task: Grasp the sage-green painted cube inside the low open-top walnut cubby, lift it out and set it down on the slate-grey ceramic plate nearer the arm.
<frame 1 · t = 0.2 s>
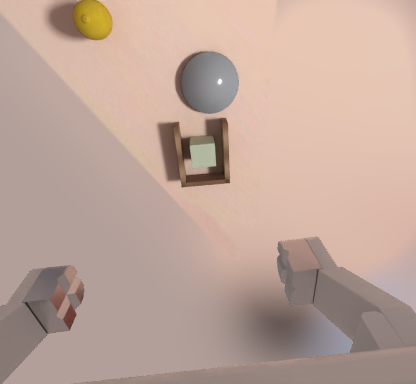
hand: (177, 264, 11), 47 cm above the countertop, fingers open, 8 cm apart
lemon: (101, 21, 46), on the countertop
cubby: (202, 147, 58), on the countertop
cube: (202, 147, 58), resting in cubby
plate: (209, 83, 51), on the countertop
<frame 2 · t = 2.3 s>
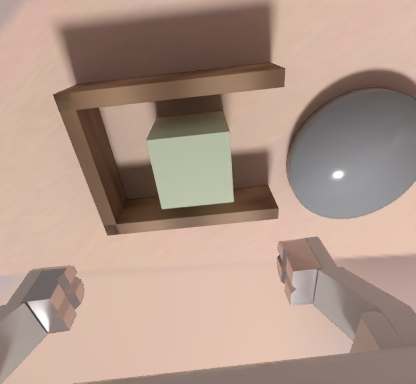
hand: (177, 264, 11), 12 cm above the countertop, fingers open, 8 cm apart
cubby: (194, 145, 21), on the countertop
cube: (194, 145, 21), resting in cubby
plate: (352, 157, 22), on the countertop
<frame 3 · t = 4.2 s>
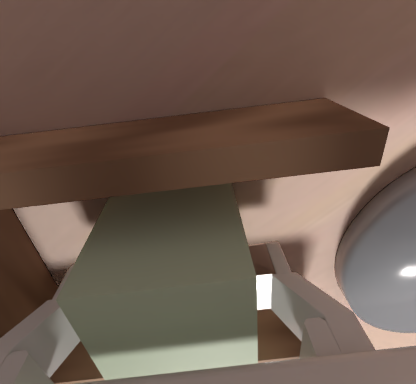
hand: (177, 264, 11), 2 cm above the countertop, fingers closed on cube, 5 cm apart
cubby: (179, 235, 12), on the countertop
cube: (179, 235, 12), resting in cubby, touching gripper
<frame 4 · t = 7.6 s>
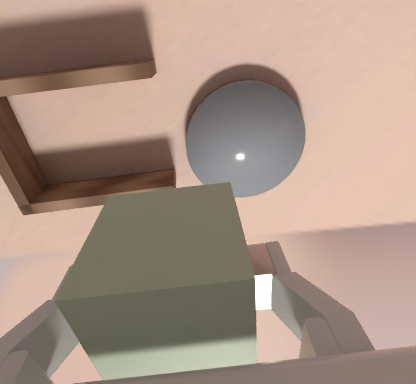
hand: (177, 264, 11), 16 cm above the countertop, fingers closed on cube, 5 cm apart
cubby: (100, 133, 24), on the countertop
cube: (179, 236, 12), point 14 cm above the countertop, touching gripper
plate: (243, 141, 25), on the countertop
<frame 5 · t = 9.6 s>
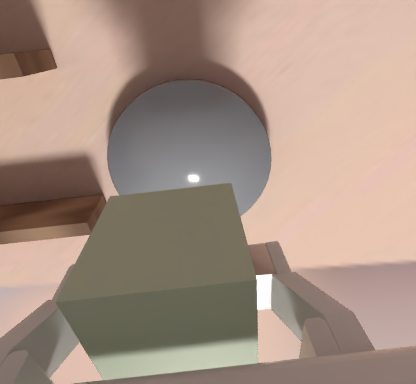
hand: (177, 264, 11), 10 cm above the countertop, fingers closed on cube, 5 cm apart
cube: (179, 236, 12), point 8 cm above the countertop, touching gripper
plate: (190, 161, 19), on the countertop
when the fingers open (4 cm above the countertop, at t = 11.0 s): cube drops 1 cm, resting on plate.
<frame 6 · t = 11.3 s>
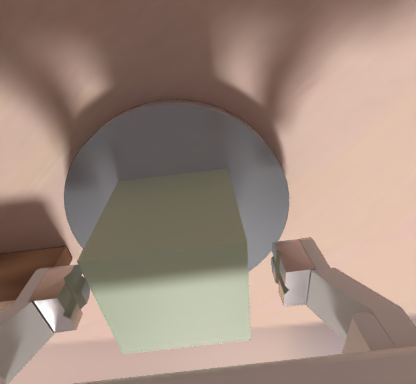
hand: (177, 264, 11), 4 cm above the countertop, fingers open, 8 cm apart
cube: (181, 218, 13), point 1 cm above the countertop, touching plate
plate: (180, 205, 14), on the countertop
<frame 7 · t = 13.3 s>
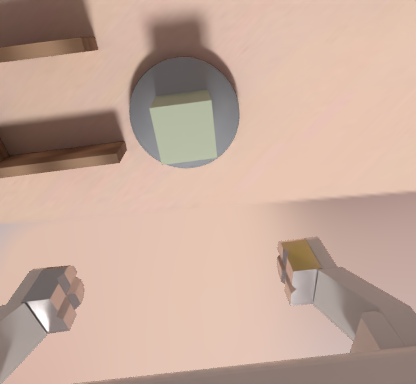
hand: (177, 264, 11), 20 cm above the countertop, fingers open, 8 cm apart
cubby: (52, 107, 26), on the countertop
cube: (185, 118, 27), point 1 cm above the countertop, touching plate
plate: (185, 115, 28), on the countertop
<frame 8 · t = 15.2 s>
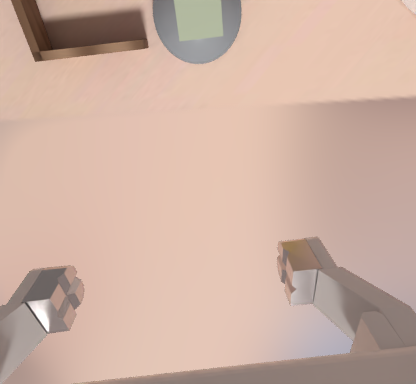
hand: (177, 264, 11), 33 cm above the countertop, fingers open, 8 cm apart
cubby: (91, 4, 33), on the countertop
cube: (198, 15, 33), point 1 cm above the countertop, touching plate
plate: (197, 15, 34), on the countertop
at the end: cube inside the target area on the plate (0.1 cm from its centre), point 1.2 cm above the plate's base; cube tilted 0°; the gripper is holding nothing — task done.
